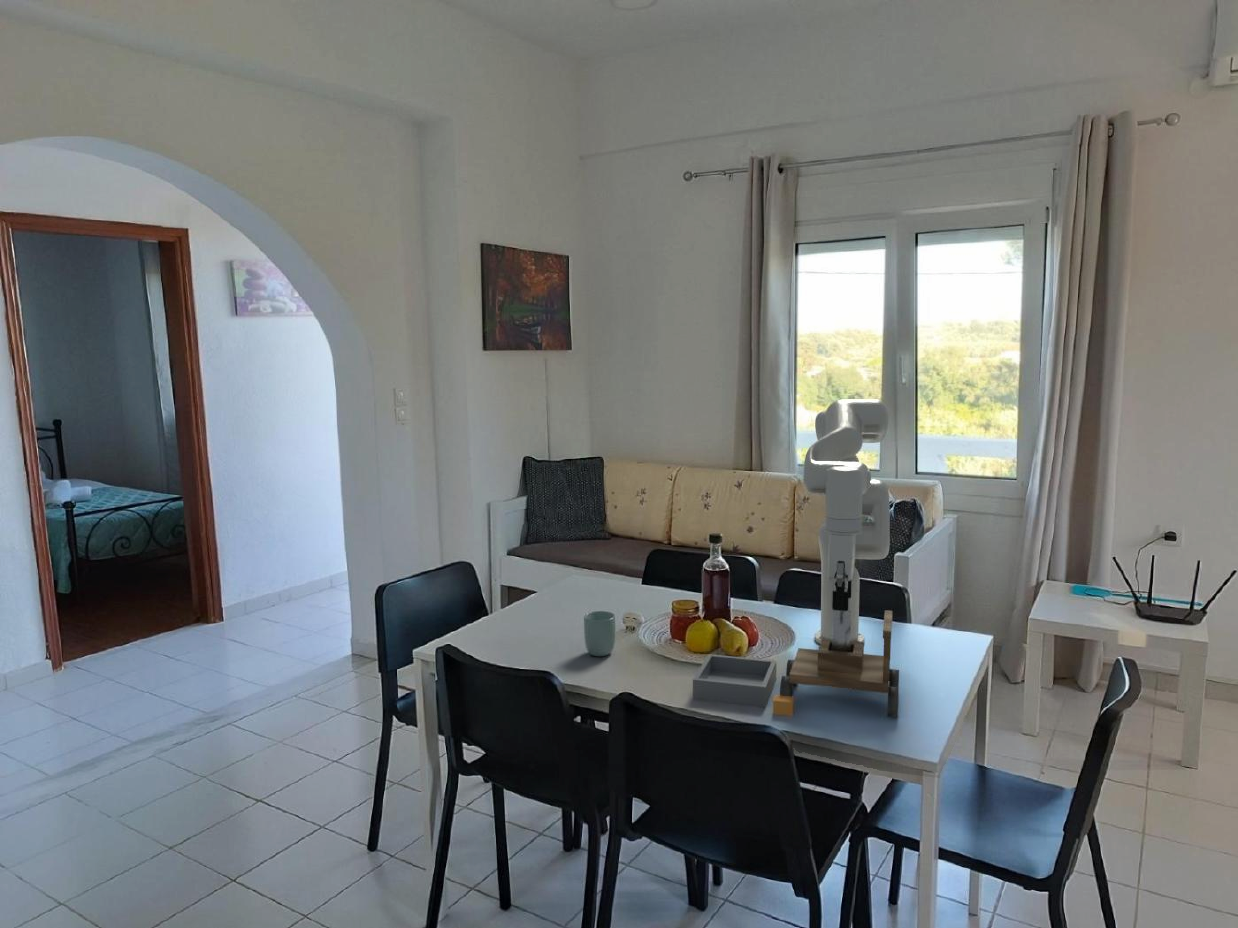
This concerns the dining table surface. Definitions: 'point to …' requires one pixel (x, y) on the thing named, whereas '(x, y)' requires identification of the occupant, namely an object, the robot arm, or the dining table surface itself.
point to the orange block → (783, 705)
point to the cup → (599, 632)
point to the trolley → (846, 669)
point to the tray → (735, 680)
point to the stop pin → (841, 630)
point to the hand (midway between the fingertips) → (841, 603)
